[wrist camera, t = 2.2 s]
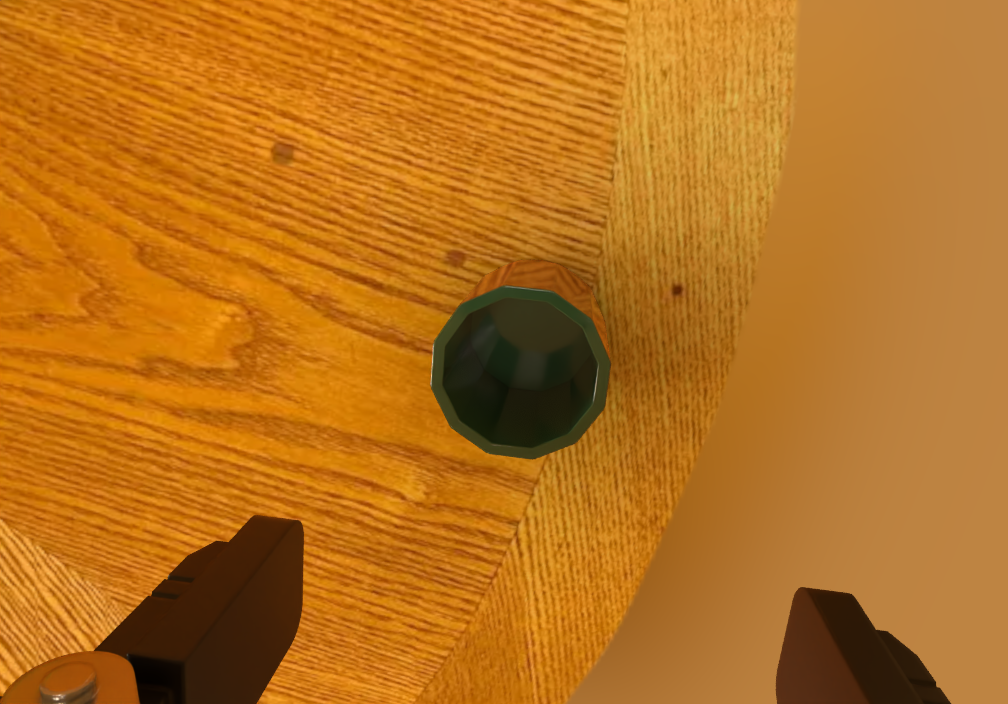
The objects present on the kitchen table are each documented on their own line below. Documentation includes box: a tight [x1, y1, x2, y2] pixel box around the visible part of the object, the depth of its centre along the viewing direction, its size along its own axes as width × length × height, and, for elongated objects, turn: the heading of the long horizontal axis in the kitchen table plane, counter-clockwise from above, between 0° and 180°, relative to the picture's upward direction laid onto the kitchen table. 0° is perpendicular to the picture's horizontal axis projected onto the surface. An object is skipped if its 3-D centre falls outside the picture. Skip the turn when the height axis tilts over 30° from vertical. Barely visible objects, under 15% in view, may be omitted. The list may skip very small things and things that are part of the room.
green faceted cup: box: [430, 260, 611, 459], centre depth 26 cm, size 6×6×6 cm
